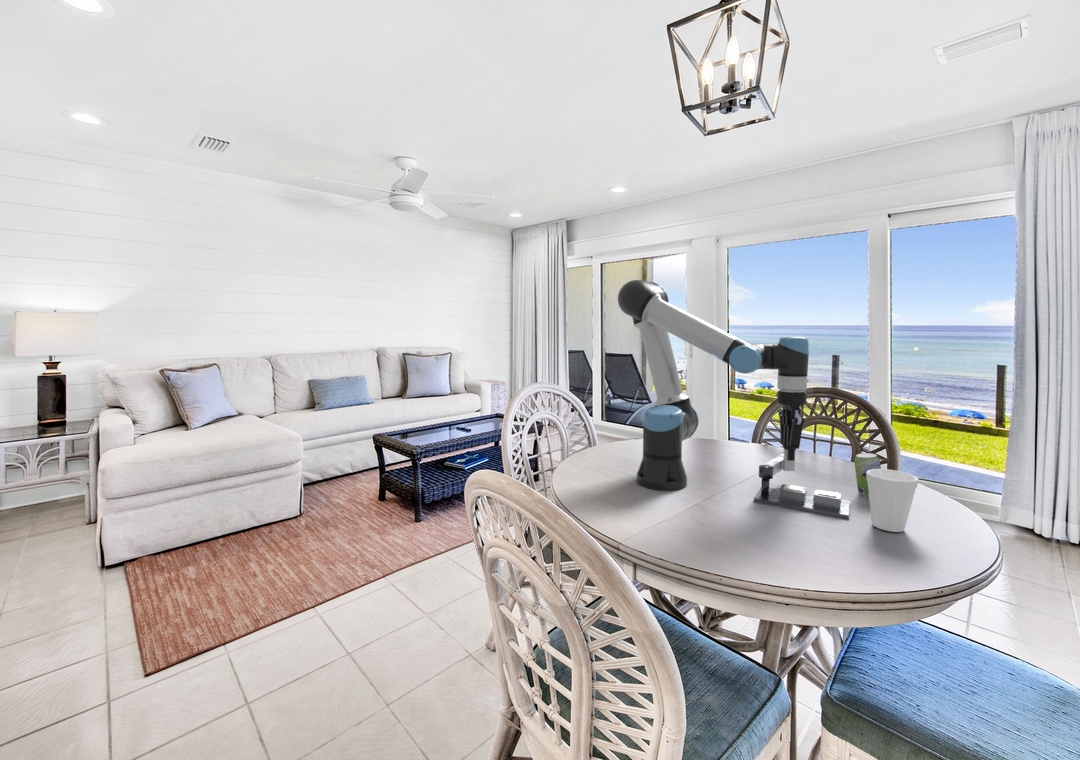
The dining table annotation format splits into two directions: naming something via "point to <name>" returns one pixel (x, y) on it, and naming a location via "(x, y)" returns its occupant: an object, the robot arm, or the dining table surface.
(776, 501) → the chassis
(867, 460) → the beverage can
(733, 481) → the dining table surface
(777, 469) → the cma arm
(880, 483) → the cup
